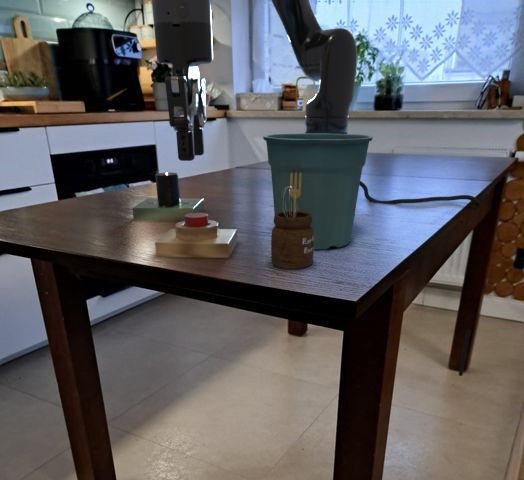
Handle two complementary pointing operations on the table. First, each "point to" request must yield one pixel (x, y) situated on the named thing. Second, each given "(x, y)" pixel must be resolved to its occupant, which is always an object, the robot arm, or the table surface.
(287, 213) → the utensil holder
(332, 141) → the flower pot
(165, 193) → the black cylinder
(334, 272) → the table surface
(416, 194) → the table surface
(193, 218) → the button
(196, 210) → the panel
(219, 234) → the button block
